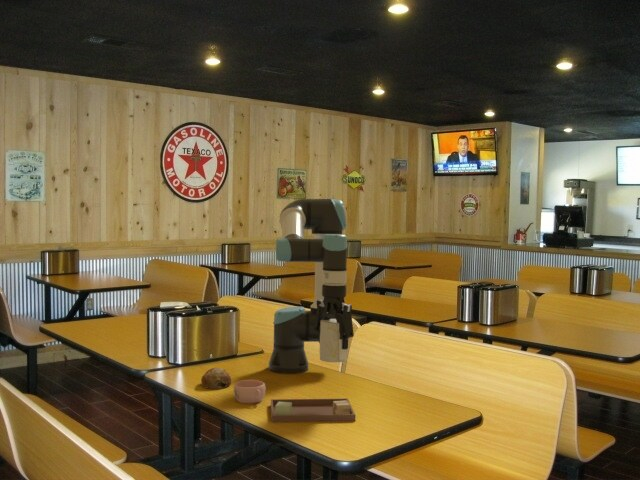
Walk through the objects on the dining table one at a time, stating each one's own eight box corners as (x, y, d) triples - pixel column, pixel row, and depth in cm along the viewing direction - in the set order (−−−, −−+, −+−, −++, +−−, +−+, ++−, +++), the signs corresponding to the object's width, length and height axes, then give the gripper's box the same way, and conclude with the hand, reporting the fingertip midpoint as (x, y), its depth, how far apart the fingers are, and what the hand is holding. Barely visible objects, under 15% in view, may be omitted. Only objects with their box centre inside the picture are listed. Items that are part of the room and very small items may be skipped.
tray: (270, 407, 206) (270, 399, 206) (347, 406, 208) (347, 398, 208) (272, 424, 190) (272, 416, 190) (355, 423, 192) (355, 414, 192)
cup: (326, 363, 202) (327, 324, 201) (315, 357, 209) (316, 319, 209) (350, 361, 205) (351, 322, 205) (339, 355, 213) (339, 318, 212)
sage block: (278, 414, 197) (278, 401, 196) (291, 415, 196) (292, 402, 196) (275, 419, 193) (275, 405, 192) (288, 420, 192) (289, 406, 192)
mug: (228, 400, 212) (228, 381, 212) (255, 395, 218) (255, 377, 218) (246, 410, 202) (246, 391, 202) (274, 405, 208) (274, 386, 208)
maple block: (332, 414, 198) (333, 401, 198) (345, 413, 199) (345, 400, 199) (336, 418, 194) (337, 405, 194) (349, 417, 195) (350, 404, 195)
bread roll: (207, 400, 224) (213, 381, 221) (193, 381, 230) (199, 363, 227) (232, 395, 230) (238, 376, 227) (218, 377, 237) (223, 359, 234)
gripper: (303, 281, 212) (302, 352, 213) (348, 288, 196) (347, 364, 197) (321, 280, 217) (319, 349, 218) (366, 286, 201) (365, 361, 202)
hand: (332, 356), depth 207 cm, fingers closed on cup, 8 cm apart
